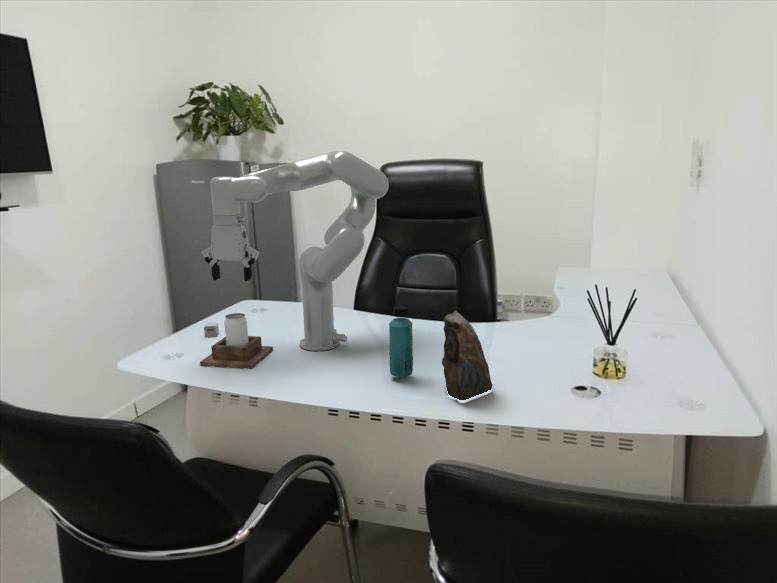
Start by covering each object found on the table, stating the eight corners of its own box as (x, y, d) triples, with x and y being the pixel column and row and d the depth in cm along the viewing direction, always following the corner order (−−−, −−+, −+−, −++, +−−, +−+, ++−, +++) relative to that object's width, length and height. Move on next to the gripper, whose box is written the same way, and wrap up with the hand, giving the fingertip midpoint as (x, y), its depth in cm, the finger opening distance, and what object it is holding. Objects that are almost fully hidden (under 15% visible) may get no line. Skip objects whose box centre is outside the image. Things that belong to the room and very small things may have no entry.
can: (246, 357, 160) (243, 318, 158) (224, 357, 160) (220, 319, 158) (251, 350, 167) (248, 312, 164) (230, 350, 167) (227, 312, 164)
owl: (460, 406, 130) (462, 327, 125) (424, 390, 140) (425, 315, 135) (495, 392, 138) (498, 317, 133) (458, 377, 147) (460, 306, 143)
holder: (273, 350, 170) (272, 334, 169) (252, 369, 155) (250, 351, 154) (225, 347, 173) (224, 332, 172) (200, 365, 158) (198, 348, 156)
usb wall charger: (204, 337, 183) (203, 326, 182) (208, 331, 190) (207, 320, 189) (217, 337, 184) (216, 325, 183) (220, 330, 190) (219, 319, 189)
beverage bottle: (405, 384, 143) (405, 311, 139) (384, 379, 147) (383, 308, 142) (417, 376, 149) (417, 305, 144) (396, 371, 152) (396, 302, 147)
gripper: (261, 219, 156) (265, 277, 160) (205, 219, 159) (211, 276, 163) (250, 222, 149) (255, 283, 153) (192, 222, 152) (198, 281, 156)
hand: (232, 279), depth 158 cm, fingers open, 9 cm apart
